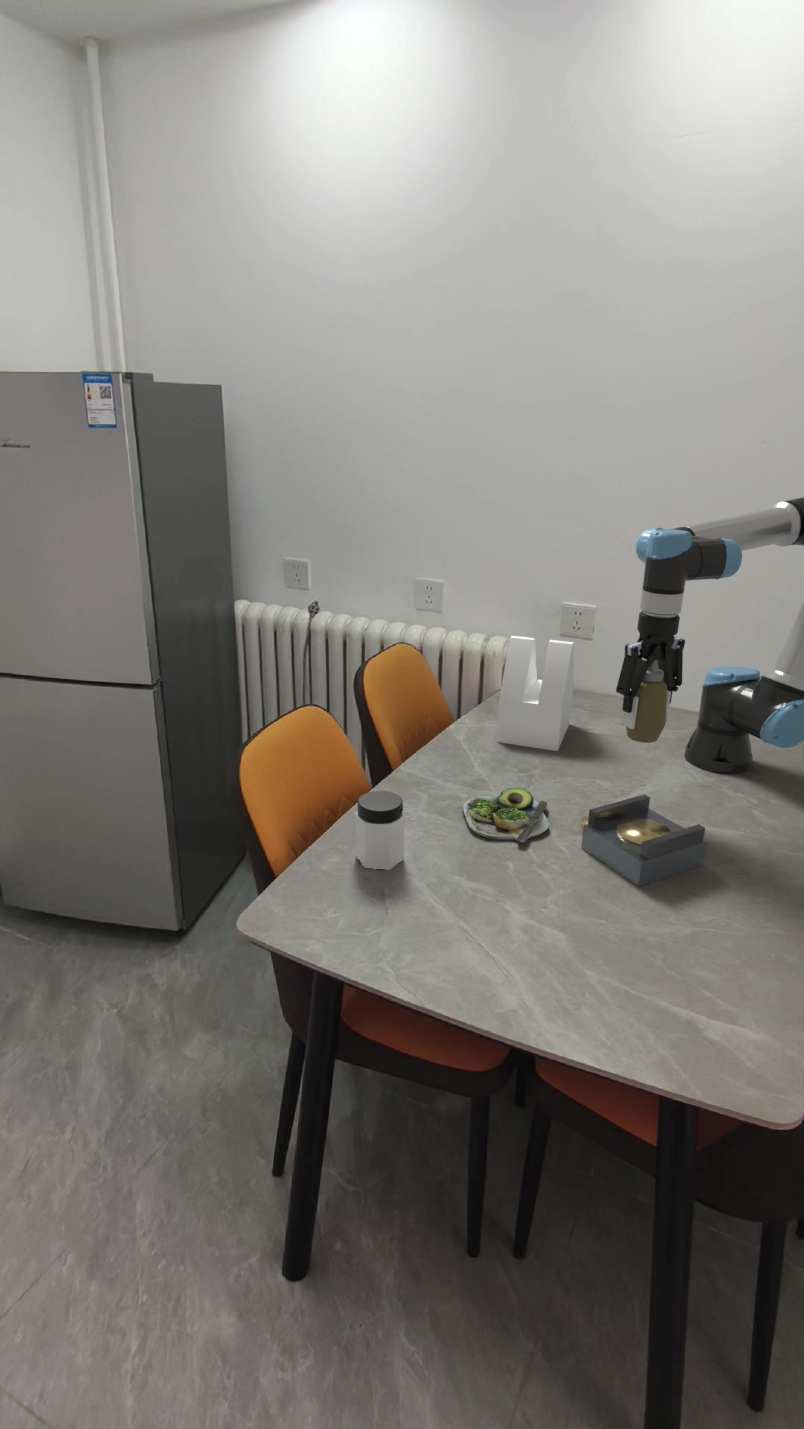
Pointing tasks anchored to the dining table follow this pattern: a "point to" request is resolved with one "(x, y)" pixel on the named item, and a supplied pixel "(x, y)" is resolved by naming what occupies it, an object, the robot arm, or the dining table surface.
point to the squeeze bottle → (650, 707)
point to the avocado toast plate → (507, 815)
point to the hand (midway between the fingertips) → (644, 723)
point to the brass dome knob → (583, 823)
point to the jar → (379, 830)
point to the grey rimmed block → (641, 841)
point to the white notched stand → (536, 695)
